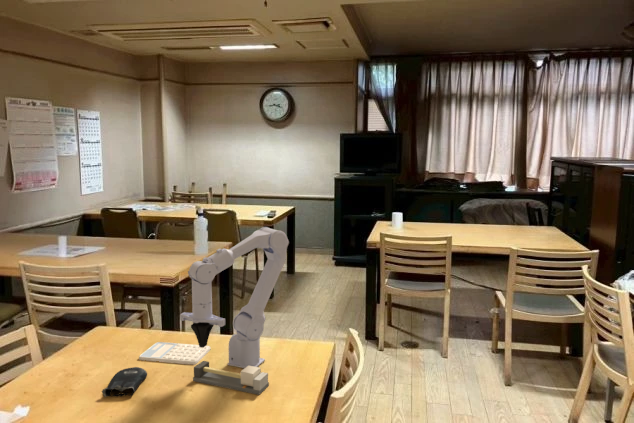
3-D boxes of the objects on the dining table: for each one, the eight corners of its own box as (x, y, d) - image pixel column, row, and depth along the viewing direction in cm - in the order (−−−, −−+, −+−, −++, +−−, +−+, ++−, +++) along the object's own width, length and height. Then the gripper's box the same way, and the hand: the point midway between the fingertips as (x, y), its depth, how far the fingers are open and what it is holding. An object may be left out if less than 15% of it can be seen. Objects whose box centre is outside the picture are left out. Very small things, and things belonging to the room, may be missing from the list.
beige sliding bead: (240, 384, 146) (240, 371, 145) (248, 377, 150) (248, 365, 149) (253, 386, 144) (253, 373, 144) (260, 380, 148) (260, 367, 148)
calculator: (195, 366, 162) (195, 360, 162) (137, 361, 166) (137, 355, 165) (211, 350, 175) (211, 344, 175) (157, 345, 179) (157, 340, 178)
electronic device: (138, 402, 142) (151, 371, 156) (134, 384, 140) (147, 355, 155) (104, 407, 142) (120, 376, 156) (99, 390, 140) (116, 360, 154)
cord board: (193, 380, 151) (192, 367, 151) (204, 372, 157) (204, 360, 156) (258, 394, 143) (258, 381, 142) (268, 385, 148) (268, 372, 148)
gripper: (173, 302, 151) (174, 347, 152) (215, 309, 145) (216, 354, 147) (188, 296, 157) (189, 338, 159) (228, 302, 152) (229, 346, 153)
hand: (203, 346), depth 153 cm, fingers closed
